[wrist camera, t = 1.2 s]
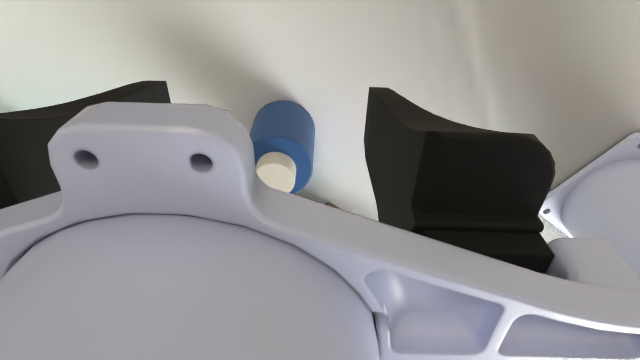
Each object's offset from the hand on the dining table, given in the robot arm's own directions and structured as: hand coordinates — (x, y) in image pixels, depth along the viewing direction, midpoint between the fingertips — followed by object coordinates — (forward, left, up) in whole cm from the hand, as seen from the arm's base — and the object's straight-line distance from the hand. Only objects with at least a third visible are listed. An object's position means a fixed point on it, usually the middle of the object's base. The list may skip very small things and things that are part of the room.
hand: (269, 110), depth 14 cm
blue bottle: (-3, +5, -10) cm, 11 cm away
